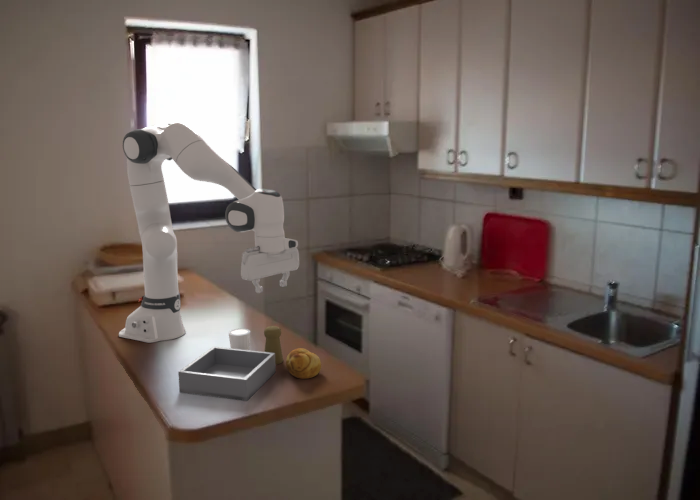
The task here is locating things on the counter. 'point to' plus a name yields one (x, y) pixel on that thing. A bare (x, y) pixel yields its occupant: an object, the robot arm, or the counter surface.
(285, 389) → the counter surface
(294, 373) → the bread roll
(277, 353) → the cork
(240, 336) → the shot glass
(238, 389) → the bin
